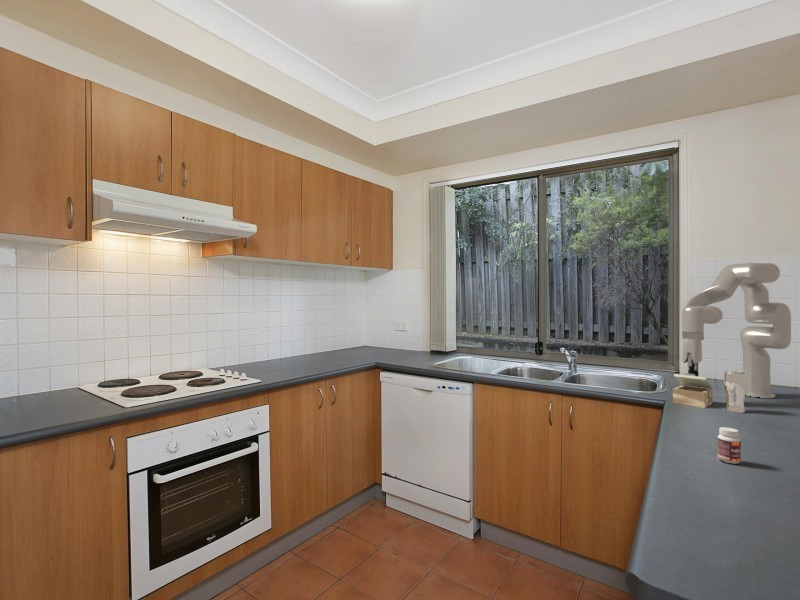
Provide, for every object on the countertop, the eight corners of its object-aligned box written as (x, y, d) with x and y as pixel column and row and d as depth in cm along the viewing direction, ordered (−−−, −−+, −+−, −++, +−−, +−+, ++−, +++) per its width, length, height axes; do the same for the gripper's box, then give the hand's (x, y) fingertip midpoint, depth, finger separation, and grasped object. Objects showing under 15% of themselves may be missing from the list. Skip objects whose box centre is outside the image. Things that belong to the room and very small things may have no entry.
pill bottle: (735, 466, 106) (735, 433, 106) (713, 460, 110) (713, 428, 110) (744, 463, 108) (744, 430, 108) (723, 457, 112) (723, 425, 112)
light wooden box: (681, 399, 183) (681, 385, 183) (712, 403, 174) (712, 389, 175) (672, 403, 175) (672, 388, 175) (704, 408, 167) (704, 392, 167)
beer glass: (726, 411, 161) (725, 372, 161) (722, 408, 167) (722, 370, 167) (749, 414, 157) (748, 374, 158) (744, 410, 164) (744, 371, 164)
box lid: (681, 384, 183) (682, 380, 183) (712, 388, 175) (712, 384, 175) (673, 376, 176) (674, 372, 176) (705, 379, 167) (705, 375, 168)
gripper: (687, 334, 184) (688, 376, 183) (676, 336, 174) (677, 380, 174) (708, 335, 178) (709, 378, 178) (698, 337, 168) (698, 383, 168)
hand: (693, 379), depth 176 cm, fingers closed
